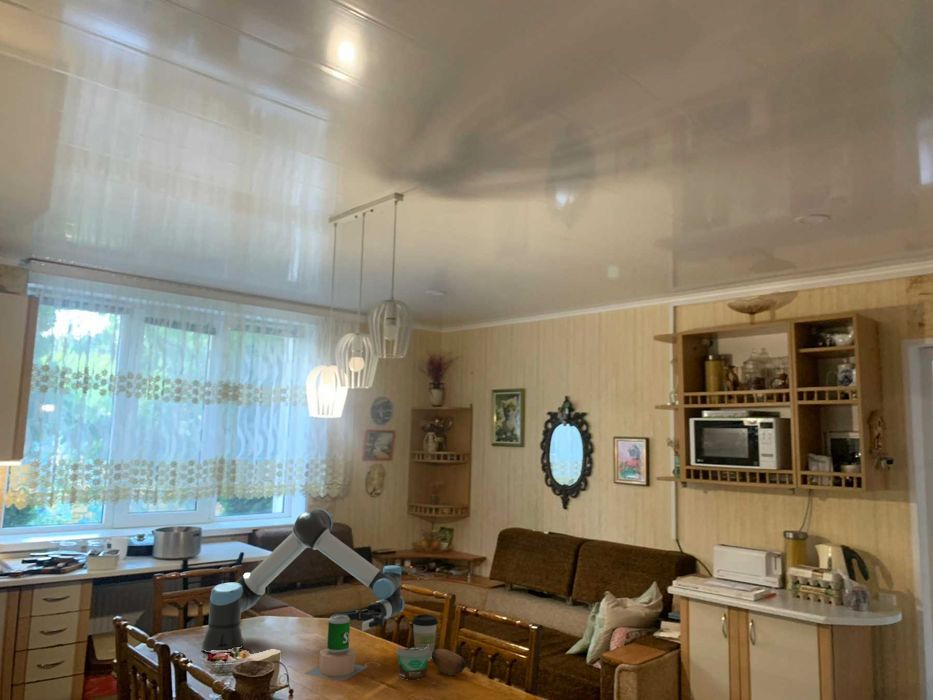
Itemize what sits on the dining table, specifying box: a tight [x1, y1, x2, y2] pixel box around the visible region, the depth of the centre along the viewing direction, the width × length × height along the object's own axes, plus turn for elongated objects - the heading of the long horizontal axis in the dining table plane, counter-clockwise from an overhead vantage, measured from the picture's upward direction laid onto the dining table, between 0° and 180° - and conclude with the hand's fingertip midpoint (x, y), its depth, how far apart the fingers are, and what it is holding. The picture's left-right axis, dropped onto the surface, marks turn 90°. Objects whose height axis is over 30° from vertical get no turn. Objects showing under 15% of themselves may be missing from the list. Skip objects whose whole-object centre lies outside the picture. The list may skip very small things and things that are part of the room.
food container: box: [395, 644, 430, 681], centre depth 225 cm, size 12×6×10 cm, turn 118°
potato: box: [431, 647, 466, 676], centre depth 231 cm, size 8×13×8 cm
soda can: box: [326, 613, 351, 654], centre depth 230 cm, size 8×8×12 cm
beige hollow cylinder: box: [318, 647, 356, 676], centre depth 229 cm, size 12×12×6 cm
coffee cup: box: [411, 614, 439, 662], centre depth 246 cm, size 10×10×15 cm
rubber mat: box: [303, 663, 369, 682], centre depth 228 cm, size 16×16×1 cm
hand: (346, 624), depth 234 cm, fingers open, 13 cm apart
